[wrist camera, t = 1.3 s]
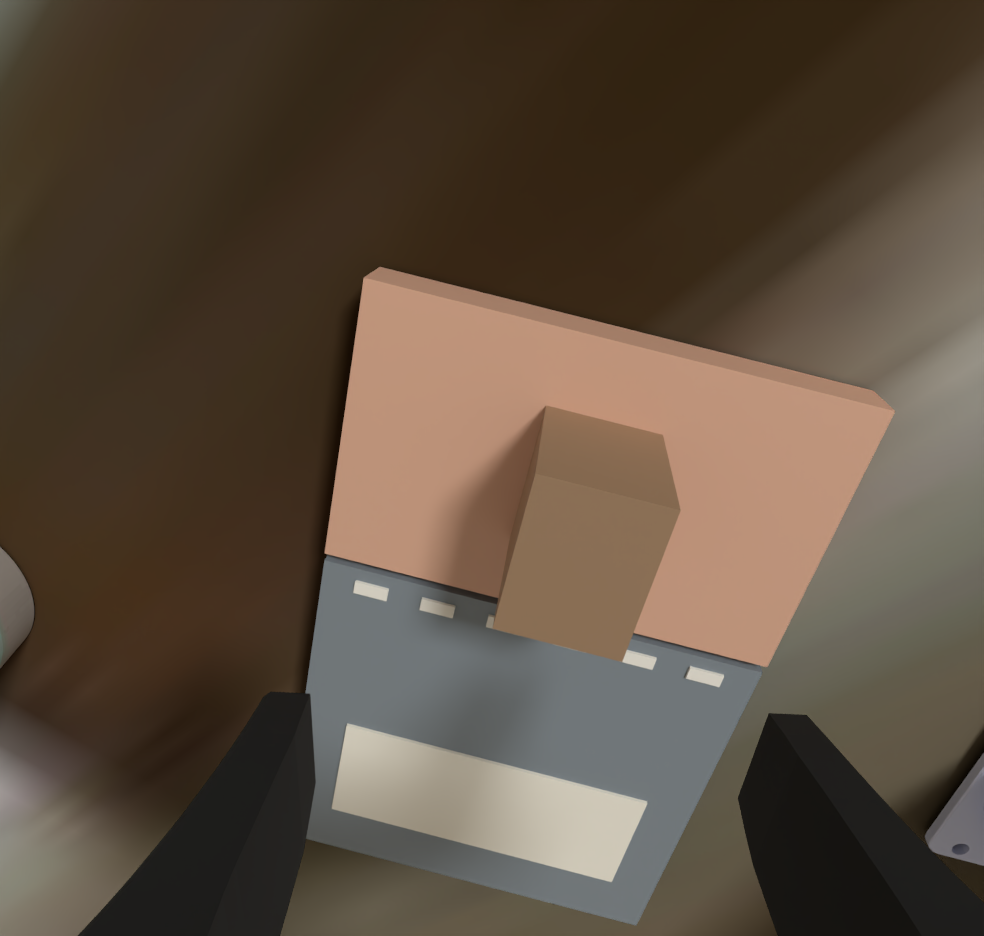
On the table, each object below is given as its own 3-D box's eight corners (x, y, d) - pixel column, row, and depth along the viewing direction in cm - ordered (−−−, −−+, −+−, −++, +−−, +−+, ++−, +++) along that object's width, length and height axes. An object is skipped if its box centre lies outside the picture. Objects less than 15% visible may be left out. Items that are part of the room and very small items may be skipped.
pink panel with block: (873, 390, 19) (974, 486, 14) (756, 634, 22) (804, 780, 17) (380, 267, 19) (305, 316, 14) (340, 527, 22) (269, 641, 17)
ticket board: (751, 640, 22) (763, 674, 21) (633, 886, 28) (636, 928, 26) (340, 534, 23) (323, 562, 21) (300, 799, 28) (284, 835, 26)
